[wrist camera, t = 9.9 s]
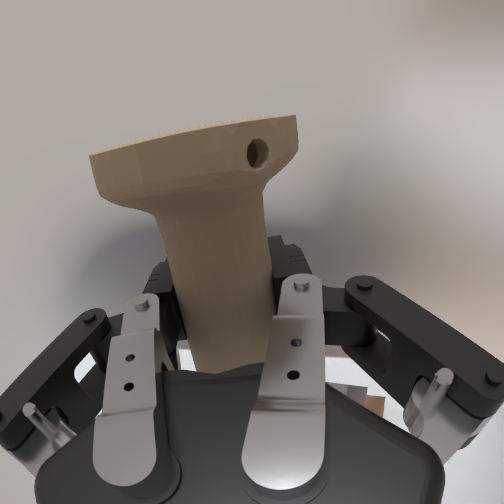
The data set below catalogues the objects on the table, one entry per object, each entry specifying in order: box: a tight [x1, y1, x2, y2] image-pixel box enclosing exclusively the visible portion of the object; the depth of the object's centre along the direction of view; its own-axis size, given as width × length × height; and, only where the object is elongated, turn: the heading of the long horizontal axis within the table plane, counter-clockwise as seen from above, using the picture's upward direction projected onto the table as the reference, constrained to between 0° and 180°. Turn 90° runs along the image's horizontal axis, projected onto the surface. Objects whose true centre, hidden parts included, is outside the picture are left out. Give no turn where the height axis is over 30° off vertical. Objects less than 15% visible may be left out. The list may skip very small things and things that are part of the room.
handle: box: [89, 115, 298, 374], centre depth 11 cm, size 5×6×15 cm
